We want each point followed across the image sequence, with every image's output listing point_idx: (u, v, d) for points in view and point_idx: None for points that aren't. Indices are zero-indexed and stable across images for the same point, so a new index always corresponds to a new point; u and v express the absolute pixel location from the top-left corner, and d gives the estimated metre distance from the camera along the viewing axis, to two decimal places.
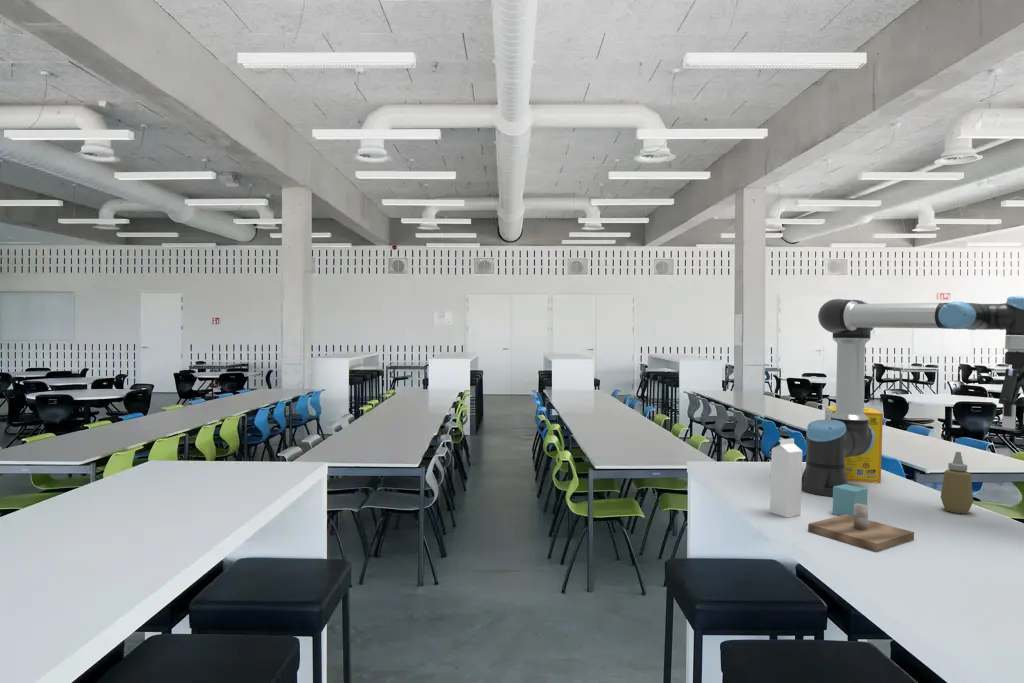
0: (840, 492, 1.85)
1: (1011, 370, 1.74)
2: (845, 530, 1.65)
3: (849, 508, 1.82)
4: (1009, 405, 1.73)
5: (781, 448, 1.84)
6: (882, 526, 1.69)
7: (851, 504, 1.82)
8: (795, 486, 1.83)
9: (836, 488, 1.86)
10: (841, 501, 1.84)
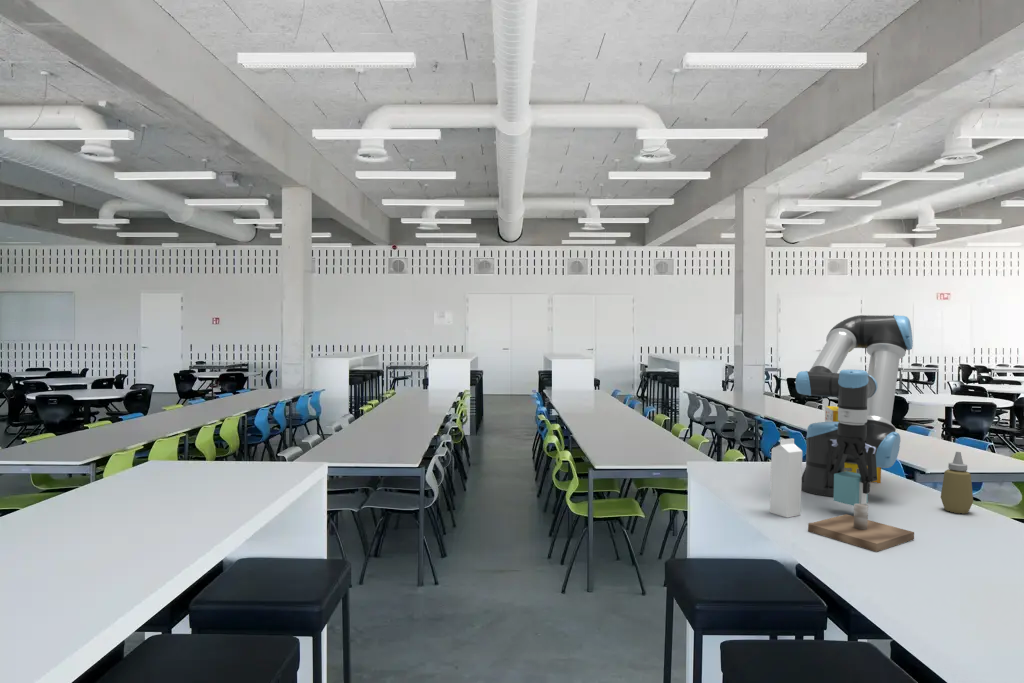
0: (841, 479, 1.85)
1: None
2: (845, 530, 1.65)
3: (850, 495, 1.83)
4: (833, 475, 1.90)
5: (781, 448, 1.84)
6: (882, 526, 1.69)
7: (852, 491, 1.82)
8: (795, 486, 1.83)
9: (837, 475, 1.86)
10: (842, 488, 1.85)
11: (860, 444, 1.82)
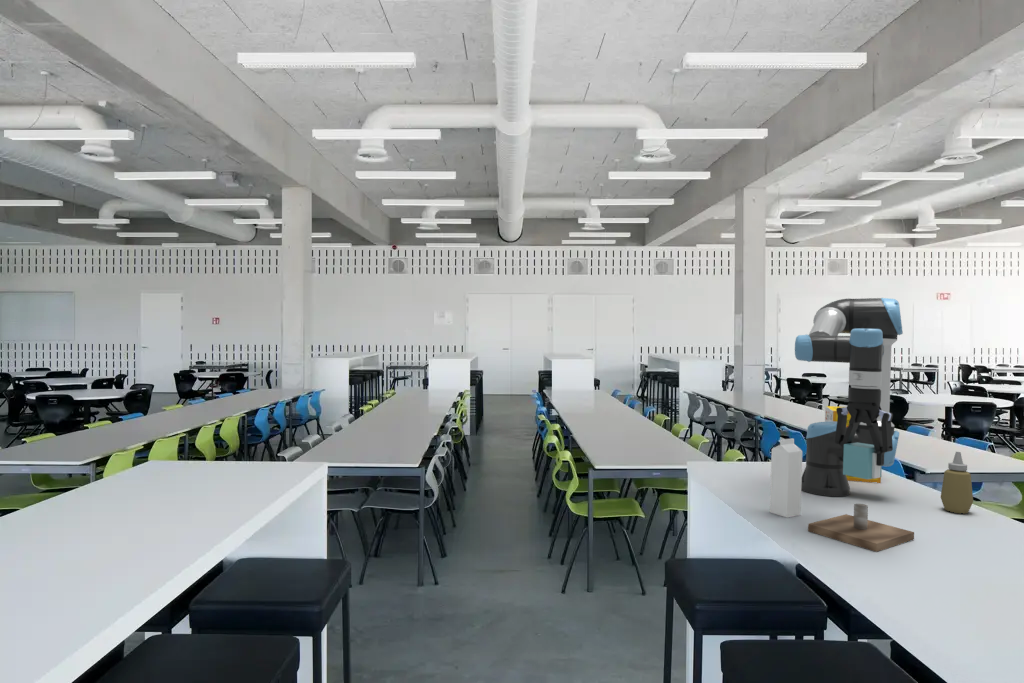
0: (852, 450, 1.66)
1: None
2: (845, 530, 1.65)
3: (862, 467, 1.63)
4: (842, 447, 1.70)
5: (781, 448, 1.84)
6: (882, 526, 1.69)
7: (864, 462, 1.63)
8: (795, 486, 1.83)
9: (847, 446, 1.67)
10: (853, 460, 1.65)
11: (874, 410, 1.63)
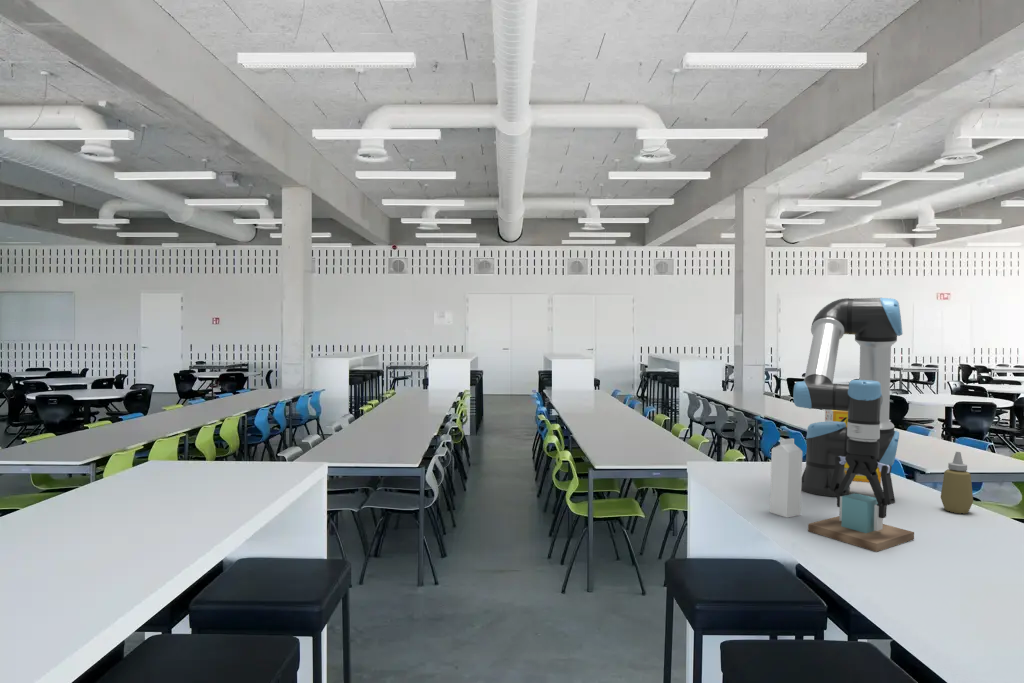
0: (850, 502, 1.66)
1: None
2: (845, 530, 1.65)
3: (861, 521, 1.64)
4: (837, 495, 1.72)
5: (781, 448, 1.84)
6: None
7: (863, 516, 1.63)
8: (795, 486, 1.83)
9: (846, 498, 1.67)
10: (851, 512, 1.66)
11: (872, 463, 1.63)
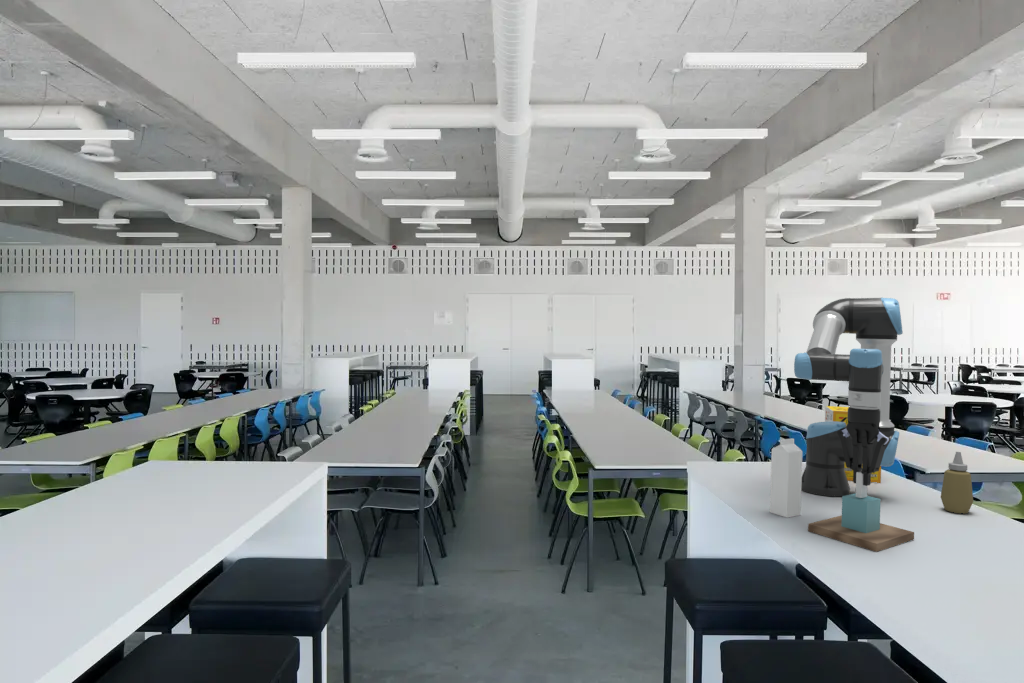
0: (850, 502, 1.66)
1: None
2: (845, 530, 1.65)
3: (861, 521, 1.64)
4: (853, 471, 1.68)
5: (781, 448, 1.84)
6: (882, 526, 1.69)
7: (863, 516, 1.63)
8: (795, 486, 1.83)
9: (846, 498, 1.67)
10: (851, 512, 1.66)
11: (873, 431, 1.63)
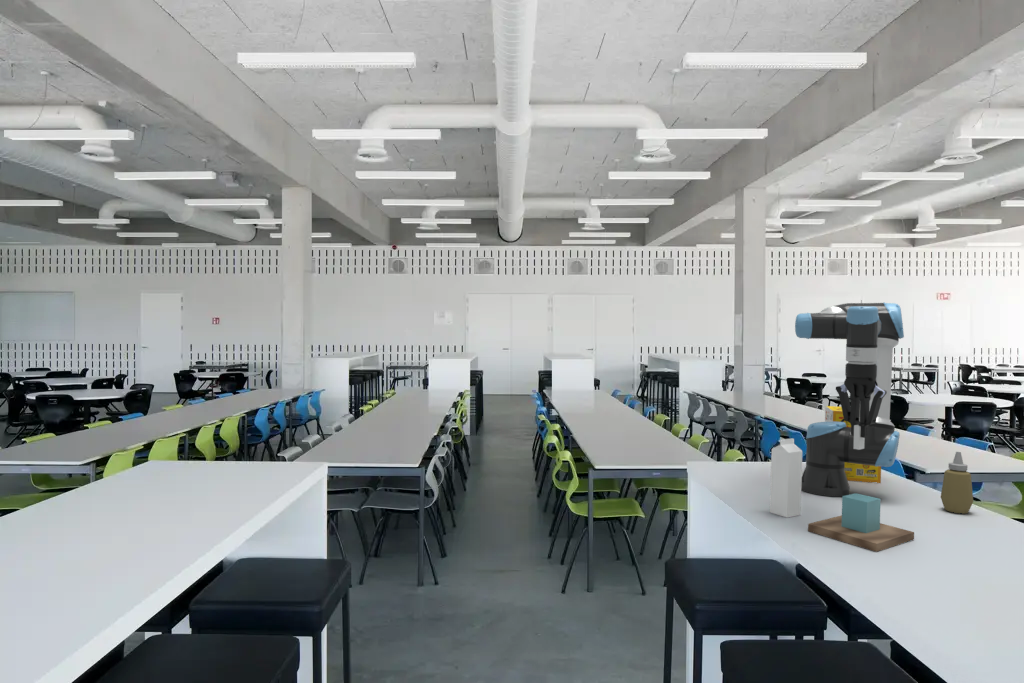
0: (850, 502, 1.66)
1: None
2: (845, 530, 1.65)
3: (861, 521, 1.64)
4: (851, 424, 1.75)
5: (781, 448, 1.84)
6: (882, 526, 1.69)
7: (863, 516, 1.63)
8: (795, 486, 1.83)
9: (846, 498, 1.67)
10: (851, 512, 1.66)
11: (870, 385, 1.70)
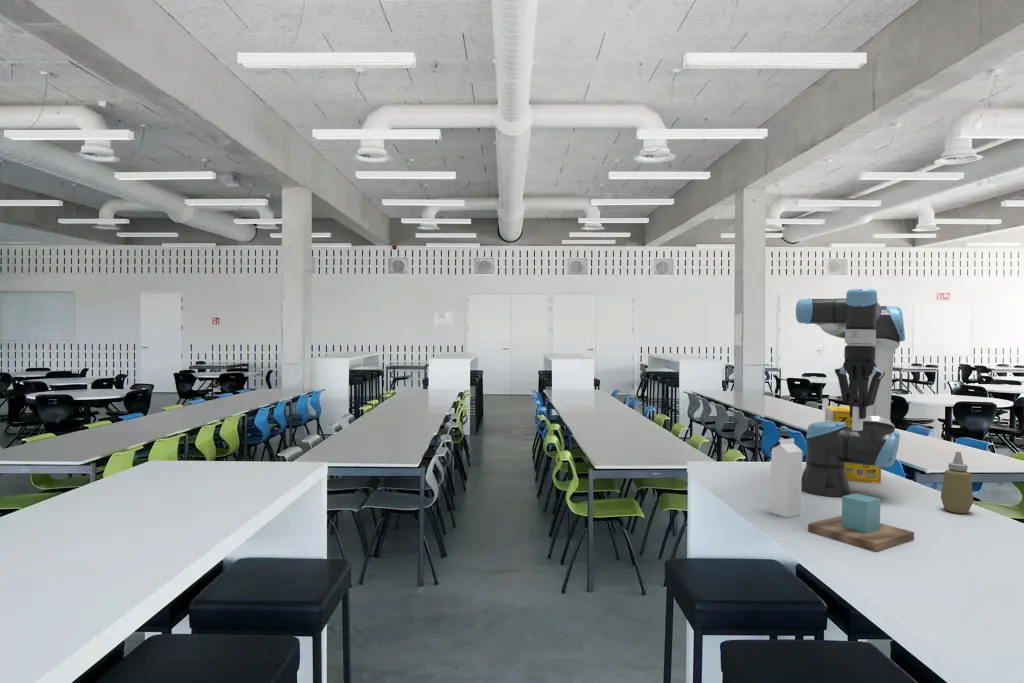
0: (850, 502, 1.66)
1: None
2: (845, 530, 1.65)
3: (861, 521, 1.64)
4: (850, 406, 1.77)
5: (781, 448, 1.84)
6: (882, 526, 1.69)
7: (863, 516, 1.63)
8: (795, 486, 1.83)
9: (846, 498, 1.67)
10: (851, 512, 1.66)
11: (868, 366, 1.72)
